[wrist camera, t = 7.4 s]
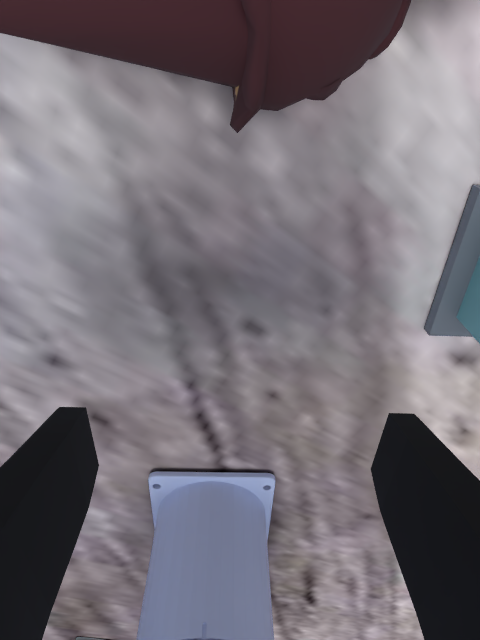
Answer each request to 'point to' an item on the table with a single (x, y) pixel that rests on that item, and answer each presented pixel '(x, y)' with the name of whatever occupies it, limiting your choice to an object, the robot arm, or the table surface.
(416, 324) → the table surface
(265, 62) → the dark brown lumpy figure
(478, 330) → the teal cube
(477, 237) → the slate coaster
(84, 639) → the skincare box
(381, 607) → the table surface
